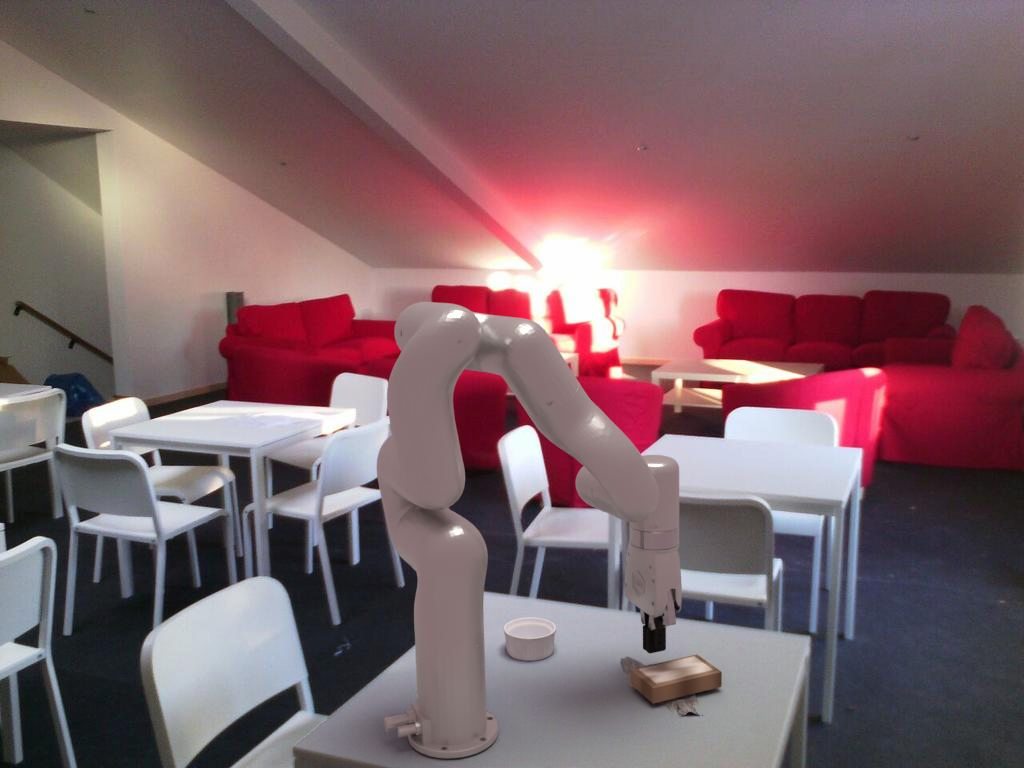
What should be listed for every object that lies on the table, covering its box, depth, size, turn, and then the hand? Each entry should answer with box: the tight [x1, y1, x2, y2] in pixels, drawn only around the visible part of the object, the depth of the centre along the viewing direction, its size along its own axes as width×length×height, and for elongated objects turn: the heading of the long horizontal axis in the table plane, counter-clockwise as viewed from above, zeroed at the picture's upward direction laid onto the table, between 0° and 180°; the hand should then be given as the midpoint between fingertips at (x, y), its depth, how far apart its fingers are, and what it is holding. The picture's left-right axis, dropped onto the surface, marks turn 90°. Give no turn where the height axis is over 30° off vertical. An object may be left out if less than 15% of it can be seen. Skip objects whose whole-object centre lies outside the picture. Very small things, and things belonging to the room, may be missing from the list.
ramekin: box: [503, 616, 557, 662], centre depth 148 cm, size 9×9×4 cm
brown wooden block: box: [630, 654, 723, 704], centre depth 134 cm, size 12×3×6 cm
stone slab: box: [620, 656, 704, 717], centre depth 135 cm, size 18×2×10 cm
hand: (654, 649), depth 137 cm, fingers closed
